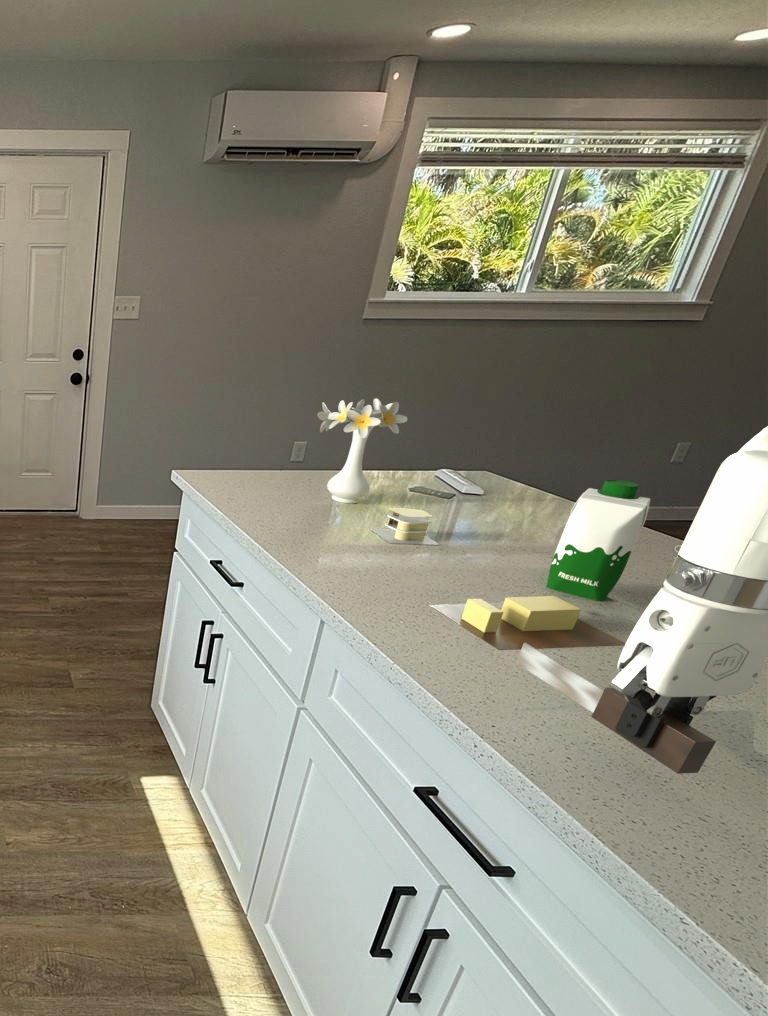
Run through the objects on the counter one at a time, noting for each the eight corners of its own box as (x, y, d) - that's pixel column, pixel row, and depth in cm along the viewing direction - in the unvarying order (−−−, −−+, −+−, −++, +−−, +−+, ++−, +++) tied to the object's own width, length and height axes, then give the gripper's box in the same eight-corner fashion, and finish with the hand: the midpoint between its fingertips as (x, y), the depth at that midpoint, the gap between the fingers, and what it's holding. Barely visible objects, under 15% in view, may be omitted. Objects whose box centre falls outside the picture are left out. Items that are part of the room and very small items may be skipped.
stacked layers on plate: (416, 529, 140) (423, 506, 137) (440, 545, 131) (447, 520, 129) (368, 528, 141) (374, 504, 138) (389, 543, 132) (396, 518, 130)
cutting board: (540, 608, 106) (543, 600, 105) (625, 653, 93) (629, 644, 92) (425, 612, 105) (428, 604, 104) (495, 658, 92) (499, 649, 91)
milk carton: (612, 597, 109) (661, 486, 102) (603, 613, 104) (655, 497, 96) (547, 580, 116) (589, 474, 108) (535, 594, 110) (578, 484, 102)
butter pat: (473, 617, 100) (479, 598, 98) (496, 632, 96) (504, 612, 94) (460, 618, 100) (467, 598, 98) (484, 632, 96) (491, 612, 94)
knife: (698, 773, 63) (716, 741, 62) (677, 774, 63) (696, 742, 62) (524, 662, 82) (535, 635, 80) (508, 663, 82) (519, 636, 80)
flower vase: (306, 487, 169) (326, 392, 159) (386, 499, 159) (413, 398, 149) (297, 500, 159) (317, 399, 149) (382, 513, 149) (410, 407, 139)
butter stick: (546, 615, 100) (554, 595, 99) (572, 629, 96) (581, 609, 95) (498, 617, 100) (505, 597, 99) (523, 631, 96) (531, 611, 95)
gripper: (691, 603, 56) (608, 766, 63) (856, 598, 57) (756, 760, 64) (607, 568, 63) (541, 719, 70) (756, 564, 64) (676, 714, 71)
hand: (645, 737), depth 67 cm, fingers closed on knife, 2 cm apart
